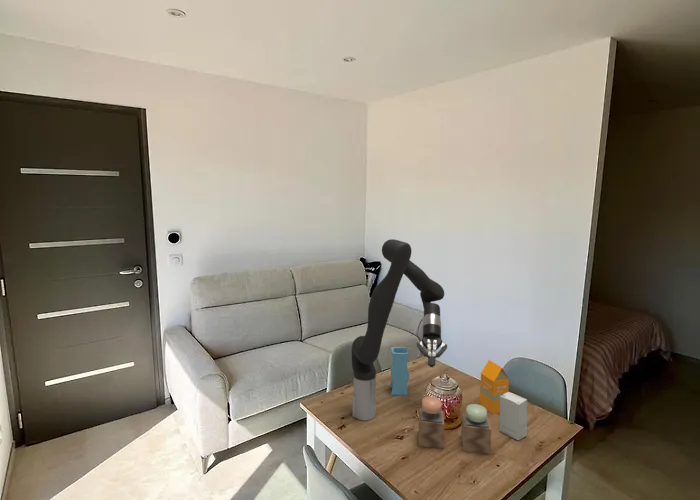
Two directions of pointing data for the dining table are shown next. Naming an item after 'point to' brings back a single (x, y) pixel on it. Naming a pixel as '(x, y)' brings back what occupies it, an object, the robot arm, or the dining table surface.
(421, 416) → the pillar
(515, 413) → the skincare box
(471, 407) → the sage button
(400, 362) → the vase
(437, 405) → the terracotta button
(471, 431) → the pillar
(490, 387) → the orange juice
